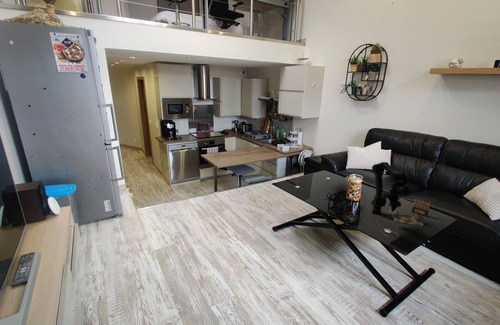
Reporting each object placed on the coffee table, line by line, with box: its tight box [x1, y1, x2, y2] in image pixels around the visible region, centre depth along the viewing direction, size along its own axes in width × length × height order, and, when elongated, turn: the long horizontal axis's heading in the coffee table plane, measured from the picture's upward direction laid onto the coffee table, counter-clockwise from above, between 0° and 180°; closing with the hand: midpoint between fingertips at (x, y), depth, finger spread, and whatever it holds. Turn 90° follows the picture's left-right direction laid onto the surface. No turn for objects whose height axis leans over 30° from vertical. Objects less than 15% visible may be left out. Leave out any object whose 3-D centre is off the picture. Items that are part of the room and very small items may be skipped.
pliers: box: [369, 221, 399, 238], centre depth 169 cm, size 10×1×20 cm
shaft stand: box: [391, 210, 424, 227], centre depth 182 cm, size 18×10×6 cm, turn 70°
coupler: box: [386, 202, 398, 214], centre depth 174 cm, size 5×6×5 cm
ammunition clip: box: [411, 198, 430, 218], centre depth 191 cm, size 11×2×12 cm, turn 42°
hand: (391, 210), depth 175 cm, fingers closed on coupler, 5 cm apart
